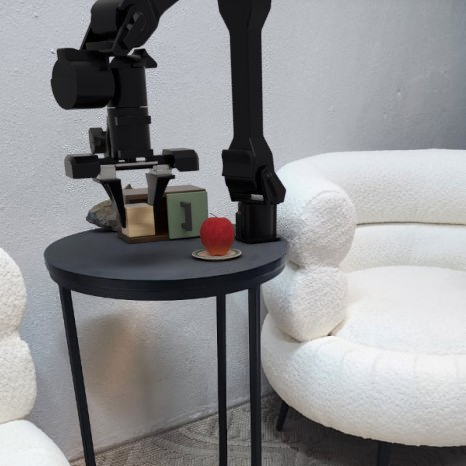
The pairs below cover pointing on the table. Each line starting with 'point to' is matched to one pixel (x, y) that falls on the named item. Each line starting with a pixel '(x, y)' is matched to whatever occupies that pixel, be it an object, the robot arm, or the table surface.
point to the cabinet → (162, 216)
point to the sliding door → (186, 213)
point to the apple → (216, 239)
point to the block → (139, 220)
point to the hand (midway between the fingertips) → (138, 226)
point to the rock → (104, 214)
